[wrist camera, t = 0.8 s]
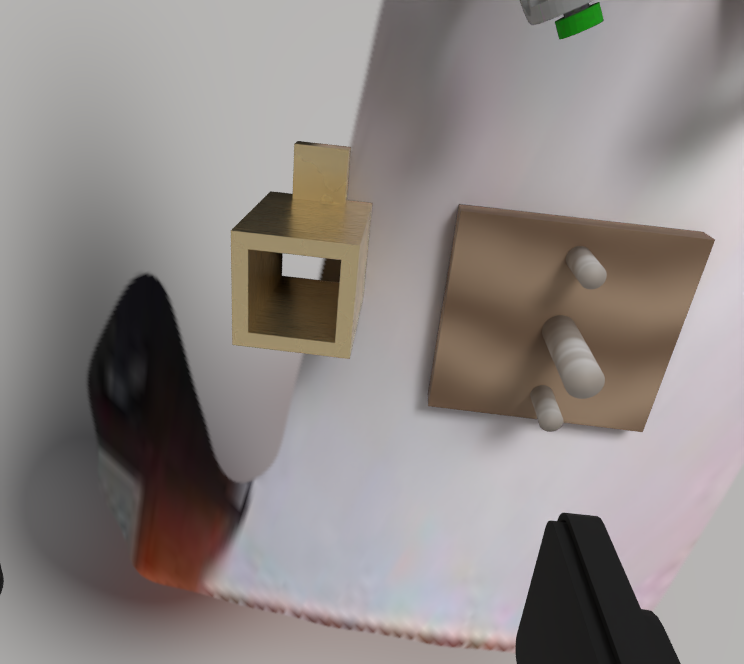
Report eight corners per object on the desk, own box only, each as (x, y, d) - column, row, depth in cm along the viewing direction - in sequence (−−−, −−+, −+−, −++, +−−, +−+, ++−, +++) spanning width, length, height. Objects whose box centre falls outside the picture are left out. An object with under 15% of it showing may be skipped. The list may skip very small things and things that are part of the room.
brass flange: (271, 138, 33) (230, 164, 25) (377, 149, 32) (365, 179, 25) (268, 328, 38) (233, 394, 31) (359, 339, 38) (345, 408, 31)
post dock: (459, 204, 33) (469, 244, 27) (703, 231, 33) (775, 279, 26) (427, 393, 39) (429, 465, 33) (634, 418, 39) (679, 496, 32)
